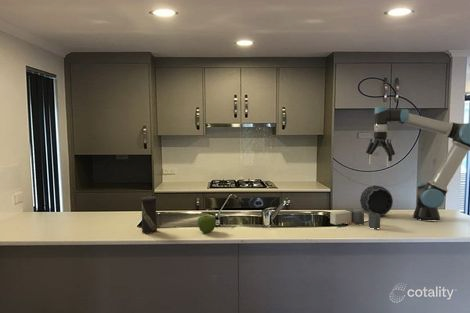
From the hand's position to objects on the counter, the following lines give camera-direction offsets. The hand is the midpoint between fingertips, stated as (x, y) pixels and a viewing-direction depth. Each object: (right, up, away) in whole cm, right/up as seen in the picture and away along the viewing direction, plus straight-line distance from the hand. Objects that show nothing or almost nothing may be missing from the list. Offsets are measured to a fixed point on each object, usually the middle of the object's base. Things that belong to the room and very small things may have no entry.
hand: (379, 165), depth 228 cm
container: (-139, -37, -22) cm, 146 cm away
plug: (-23, -35, -4) cm, 42 cm away
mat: (-18, -35, -1) cm, 39 cm away
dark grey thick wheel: (+3, -34, +14) cm, 37 cm away
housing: (-13, -36, -12) cm, 40 cm away
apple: (-107, -37, -24) cm, 115 cm away
